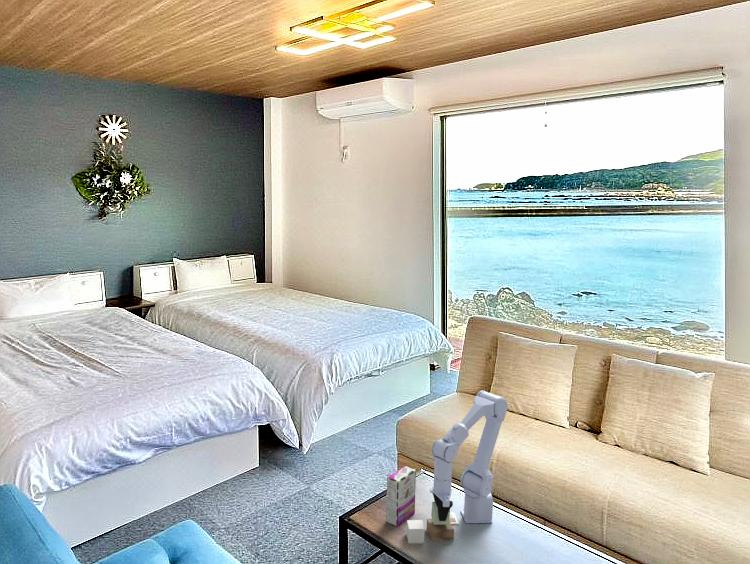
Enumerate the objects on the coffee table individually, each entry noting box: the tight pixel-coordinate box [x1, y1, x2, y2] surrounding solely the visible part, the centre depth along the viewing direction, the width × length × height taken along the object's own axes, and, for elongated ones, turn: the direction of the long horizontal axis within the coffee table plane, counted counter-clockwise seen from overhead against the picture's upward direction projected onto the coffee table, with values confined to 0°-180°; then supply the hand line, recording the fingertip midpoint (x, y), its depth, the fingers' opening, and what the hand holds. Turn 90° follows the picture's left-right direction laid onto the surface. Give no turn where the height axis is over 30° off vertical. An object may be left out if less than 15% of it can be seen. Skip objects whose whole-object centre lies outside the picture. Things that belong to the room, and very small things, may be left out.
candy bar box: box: [385, 465, 417, 527], centre depth 190 cm, size 11×5×16 cm, turn 143°
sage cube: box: [430, 501, 451, 525], centre depth 181 cm, size 5×5×5 cm
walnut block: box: [426, 518, 455, 543], centre depth 181 cm, size 7×7×4 cm
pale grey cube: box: [406, 519, 425, 544], centre depth 179 cm, size 5×5×5 cm
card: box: [449, 511, 460, 526], centre depth 191 cm, size 5×7×1 cm
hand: (440, 515), depth 181 cm, fingers closed on sage cube, 5 cm apart
